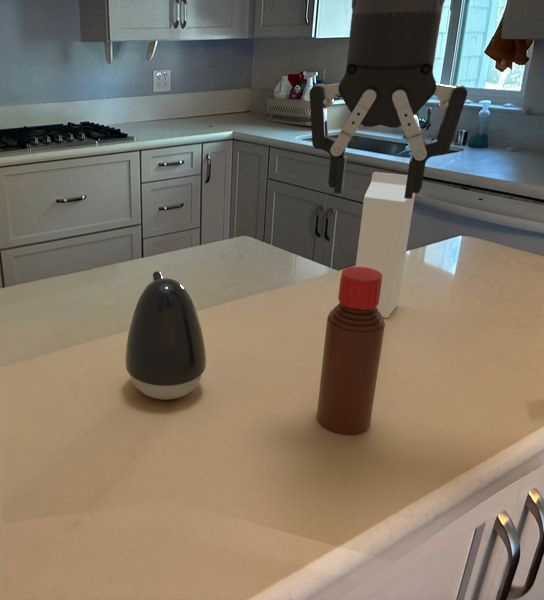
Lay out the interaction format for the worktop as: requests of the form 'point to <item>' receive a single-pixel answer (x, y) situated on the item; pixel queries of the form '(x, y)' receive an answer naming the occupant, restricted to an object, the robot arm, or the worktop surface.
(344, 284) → the cap
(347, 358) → the bottle
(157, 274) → the dark grey egg-shaped piece
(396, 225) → the milk
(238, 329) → the worktop surface
